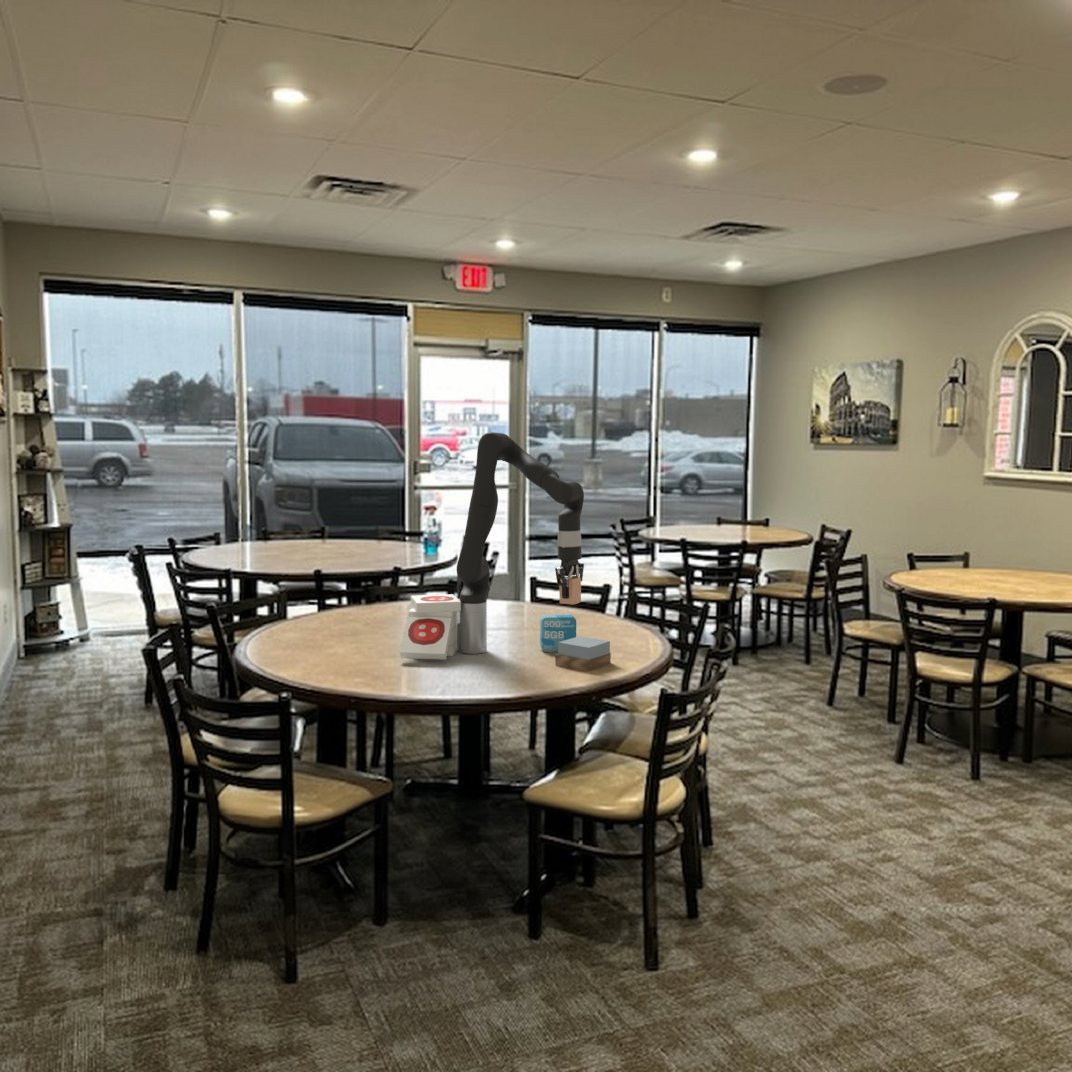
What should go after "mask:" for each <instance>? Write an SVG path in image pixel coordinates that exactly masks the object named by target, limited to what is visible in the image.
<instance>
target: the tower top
mask: <svg viewBox="0 0 1072 1072" xmlns="http://www.w3.org/2000/svg"><path fill="white" fill-rule="evenodd" d="M610 651H611V641H610V640H606V639H605V640H604V639H598V638H595V637H594V638H593V637H587V636H582V635H579V636H576V637H575V638H571V639H568V640H565V641H561V642H558V652H557V654H558V655H564V656H569V657H575V658H580V659H585V660H591V659H594V658H597V657H600V656H603V655H606V654H609V653H611V652H610Z"/></svg>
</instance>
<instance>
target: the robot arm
mask: <svg viewBox="0 0 1072 1072" xmlns="http://www.w3.org/2000/svg"><path fill="white" fill-rule="evenodd" d="M476 453H477V454H476V465H475V473H474V481H473V486H472V493H471V496H470V502H469V507H468V512H467V513H468V514H467V520H466V524H465V531H464V537H463V538H464V539H463V543H462V546H461V551H460V554H459V556H458V559H457V564H456V574H457V578H458V579H459V580H460V581H461V582H463V585H462V588H461V591H460V593H459V600H460V601H461V611H460V623H458V624H457V650H456V652H457V651H459V652H460V653H462V654H469V655H470V654H471V655H475V654H476V655H477V654H483V653H486V652H487V651H488V649H487V646H488V645H487V642H488V641H487V640H488V638H487V636H488V632H487V631H488V629H487V628H488V627H487V624H488V621H487V619H488V618H487V617H488V616H487V613H488V612H487V608H488V607H487V605H488V604H487V601H488V600H487V599H488V594H489V590H490V589H489V587H490V565H489V561H488V560H487V558H486V557H485V556H484V549H485V545H486V542H487V540H488V537H489V535H490V533H491V530H492V528H493V526H494V523H495V520H496V517H497V512H498V511H497V510H498V506H499V496H498V491H497V486H496V480H495V479H496V478H495V475H496V468H497V463H498V462H499V461H502V462H505V463H507V464H510V465H511V466H514V467H516V468H517V469H518V470H519V471H520V472H521V473H522V474H523V475H524V477H525V478H527V480H528V481H530V482H531V483H532V484H533V485H536V487H538V488H541V490H544V491H545V493H546V494H547V495H548V496H550V498H552V500H553V501H555V502H556V503H558V504H560V505H563V509H562V511H561V512H560V513H559V514H558V517H557V519H558V521H557V522H558V523H557V524H558V527H557V529H558V533H557V558H558V560H560V561H561V563H560V566H559V567H555V569H554V571H555V576H556V577H555V578H556V584H557V586H559V585H560V586H562V598H565V599H567V598H569V587H568V586H569V580H570V579H571V578H572V577H575V578H578V577H579V578H581V582H583V576H584V570H585V563H583V562H579V560H581V559H582V533H581V513H582V510H583V506H584V499H585V493H584V488H583V487H582V484H580V483H579V482H577V481H564V480H563V479H561V478H560V475H559V473H558V472H556V471H555V470H554V469H552V468H551V467H549V466H548V465H547V464H544V463H543V462H541V461H539V460H538V459H536V458H535V457H534V456H532V455H530V453H528V452H527V451H526V450H524V449H523V448H522V447H520V445H519V444H518V443H516V441H515V440H514V439H512V438H511V437H510V436H508V435H507V434H506V433H502V432H494V431H488V432H485V433H483V434H482V436H481V437H480V439H479V441H478V444H477V451H476ZM560 579H561V582H560ZM565 579H566V581H565Z"/></svg>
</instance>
